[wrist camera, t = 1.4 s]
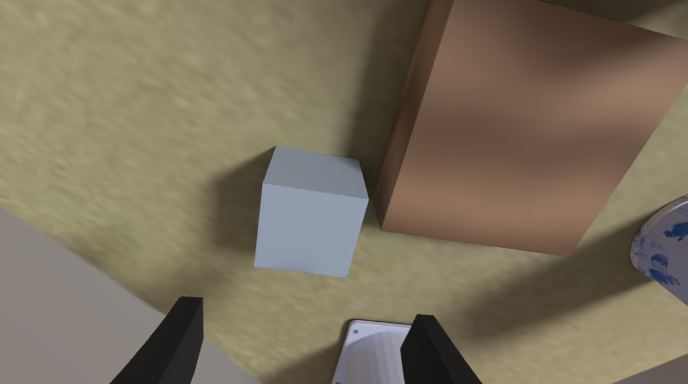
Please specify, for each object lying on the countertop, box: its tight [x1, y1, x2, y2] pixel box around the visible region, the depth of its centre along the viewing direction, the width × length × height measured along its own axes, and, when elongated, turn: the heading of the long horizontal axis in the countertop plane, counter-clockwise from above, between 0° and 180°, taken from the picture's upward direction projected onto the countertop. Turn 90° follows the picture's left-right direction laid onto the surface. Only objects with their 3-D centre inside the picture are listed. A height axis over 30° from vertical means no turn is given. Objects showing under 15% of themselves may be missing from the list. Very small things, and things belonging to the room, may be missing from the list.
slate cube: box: [254, 146, 369, 278], centre depth 18 cm, size 5×5×5 cm
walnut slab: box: [372, 0, 688, 257], centre depth 18 cm, size 12×12×4 cm
